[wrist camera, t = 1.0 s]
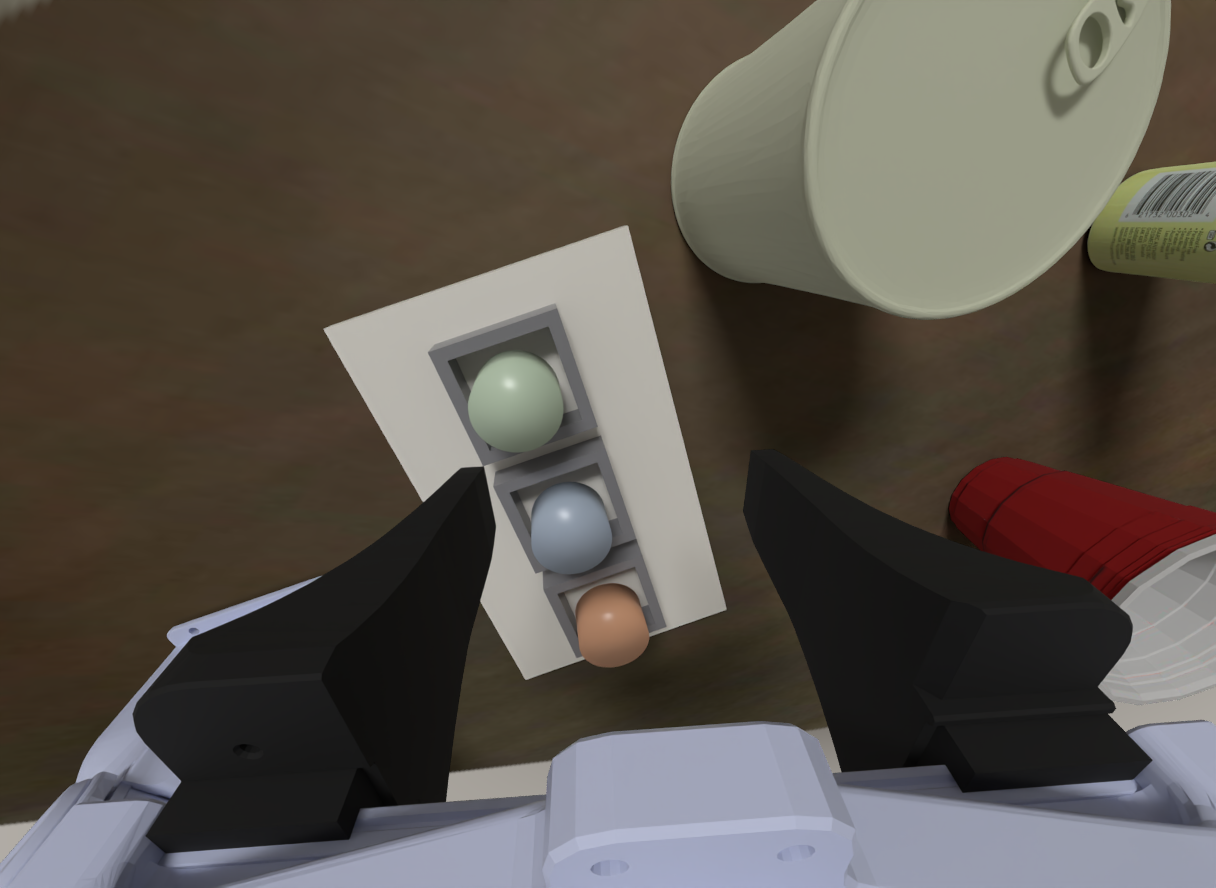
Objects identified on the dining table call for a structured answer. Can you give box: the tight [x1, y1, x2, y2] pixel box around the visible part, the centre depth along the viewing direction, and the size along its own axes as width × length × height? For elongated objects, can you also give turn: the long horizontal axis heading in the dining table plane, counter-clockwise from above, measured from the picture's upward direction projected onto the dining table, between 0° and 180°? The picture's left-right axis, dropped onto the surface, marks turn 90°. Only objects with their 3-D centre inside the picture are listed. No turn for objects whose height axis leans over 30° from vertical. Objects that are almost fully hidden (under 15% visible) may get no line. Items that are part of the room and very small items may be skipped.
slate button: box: [531, 482, 612, 574], centre depth 23 cm, size 4×4×2 cm
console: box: [324, 226, 727, 680], centre depth 25 cm, size 14×24×3 cm, turn 17°
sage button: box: [468, 350, 563, 452], centre depth 20 cm, size 4×4×2 cm
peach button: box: [575, 583, 649, 667], centre depth 26 cm, size 4×4×2 cm
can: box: [671, 0, 1171, 320], centre depth 16 cm, size 9×9×12 cm
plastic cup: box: [949, 457, 1216, 705], centre depth 26 cm, size 11×11×12 cm
